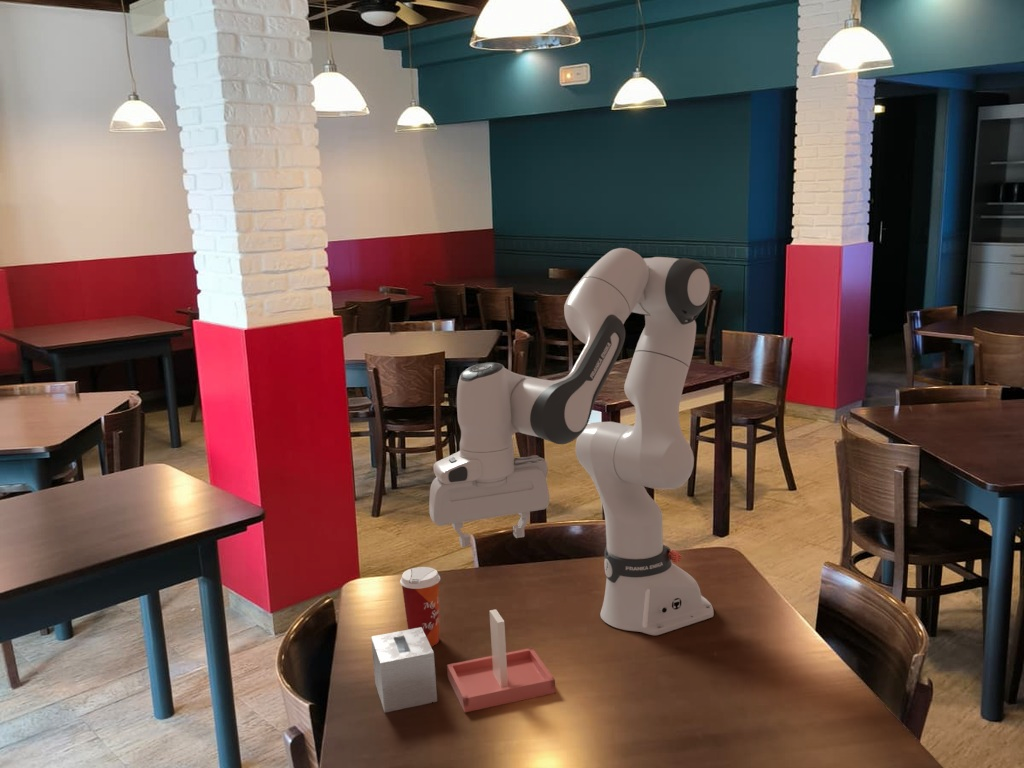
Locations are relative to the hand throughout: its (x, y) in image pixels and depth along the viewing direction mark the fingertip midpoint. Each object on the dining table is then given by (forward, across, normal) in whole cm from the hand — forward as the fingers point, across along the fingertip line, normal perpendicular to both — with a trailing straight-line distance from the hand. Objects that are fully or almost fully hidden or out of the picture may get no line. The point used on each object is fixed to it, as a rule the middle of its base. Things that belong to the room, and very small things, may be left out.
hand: (492, 541), depth 150 cm
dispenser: (+26, +16, -4) cm, 31 cm away
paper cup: (+27, +9, -21) cm, 35 cm away
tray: (+27, 0, 0) cm, 27 cm away
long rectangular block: (+26, 0, 0) cm, 26 cm away
